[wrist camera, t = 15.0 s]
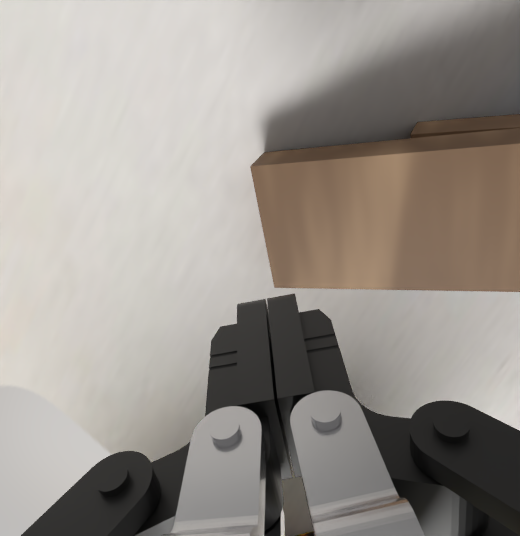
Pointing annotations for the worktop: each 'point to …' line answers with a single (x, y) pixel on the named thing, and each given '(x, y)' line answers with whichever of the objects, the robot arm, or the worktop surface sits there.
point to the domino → (395, 213)
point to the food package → (307, 534)
